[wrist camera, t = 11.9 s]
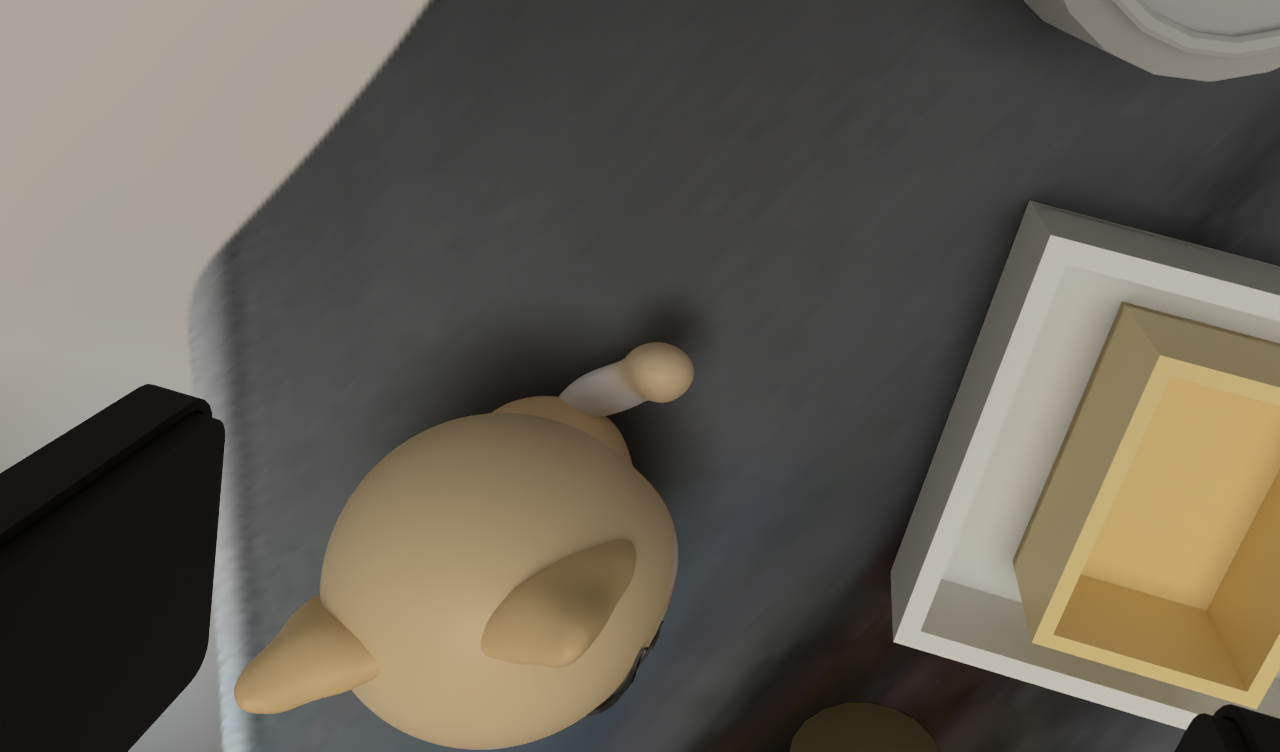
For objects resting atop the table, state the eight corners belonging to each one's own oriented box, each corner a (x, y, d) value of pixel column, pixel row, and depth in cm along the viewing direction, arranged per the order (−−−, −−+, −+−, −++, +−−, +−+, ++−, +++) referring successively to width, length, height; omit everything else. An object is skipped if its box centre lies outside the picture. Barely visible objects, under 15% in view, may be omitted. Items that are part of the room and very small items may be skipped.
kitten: (423, 609, 46) (235, 894, 32) (330, 388, 43) (80, 600, 29) (775, 544, 42) (731, 841, 28) (699, 296, 39) (609, 493, 25)
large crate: (1029, 200, 36) (1050, 234, 32) (1491, 322, 34) (1576, 374, 30) (890, 571, 41) (893, 641, 37) (1282, 687, 40) (1330, 773, 36)
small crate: (1122, 301, 36) (1159, 354, 31) (1345, 360, 35) (1416, 424, 30) (1012, 561, 40) (1031, 642, 35) (1210, 618, 39) (1256, 709, 34)
